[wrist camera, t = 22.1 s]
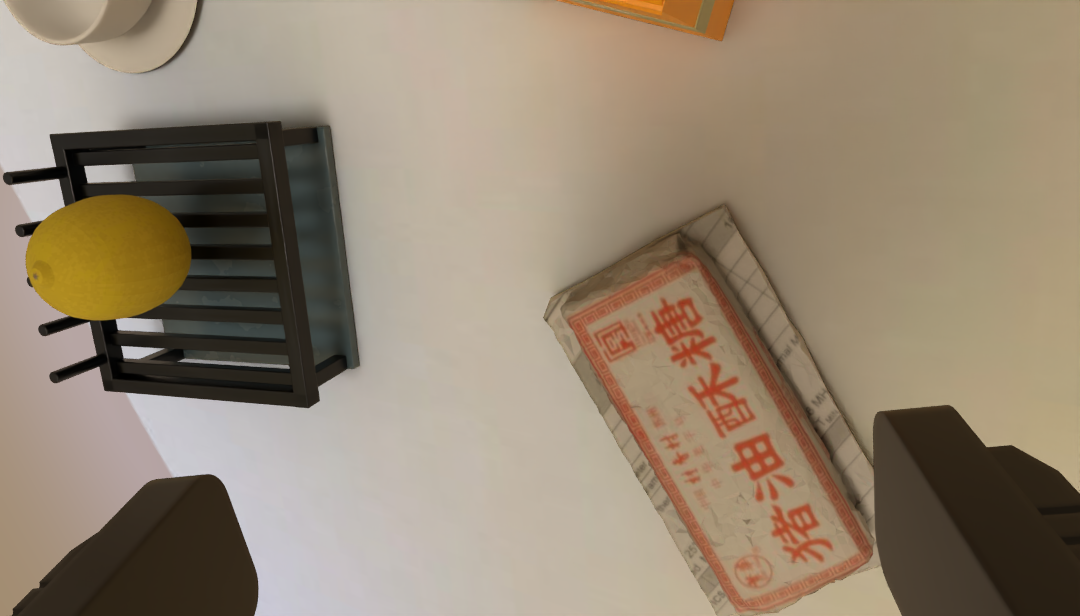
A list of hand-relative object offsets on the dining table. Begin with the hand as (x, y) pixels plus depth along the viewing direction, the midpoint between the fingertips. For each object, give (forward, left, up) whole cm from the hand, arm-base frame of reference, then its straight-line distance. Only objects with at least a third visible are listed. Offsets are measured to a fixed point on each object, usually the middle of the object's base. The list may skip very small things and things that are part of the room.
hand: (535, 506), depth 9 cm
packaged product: (+10, 0, -27) cm, 29 cm away
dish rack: (+2, -27, -27) cm, 38 cm away
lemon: (+1, -26, -23) cm, 35 cm away
